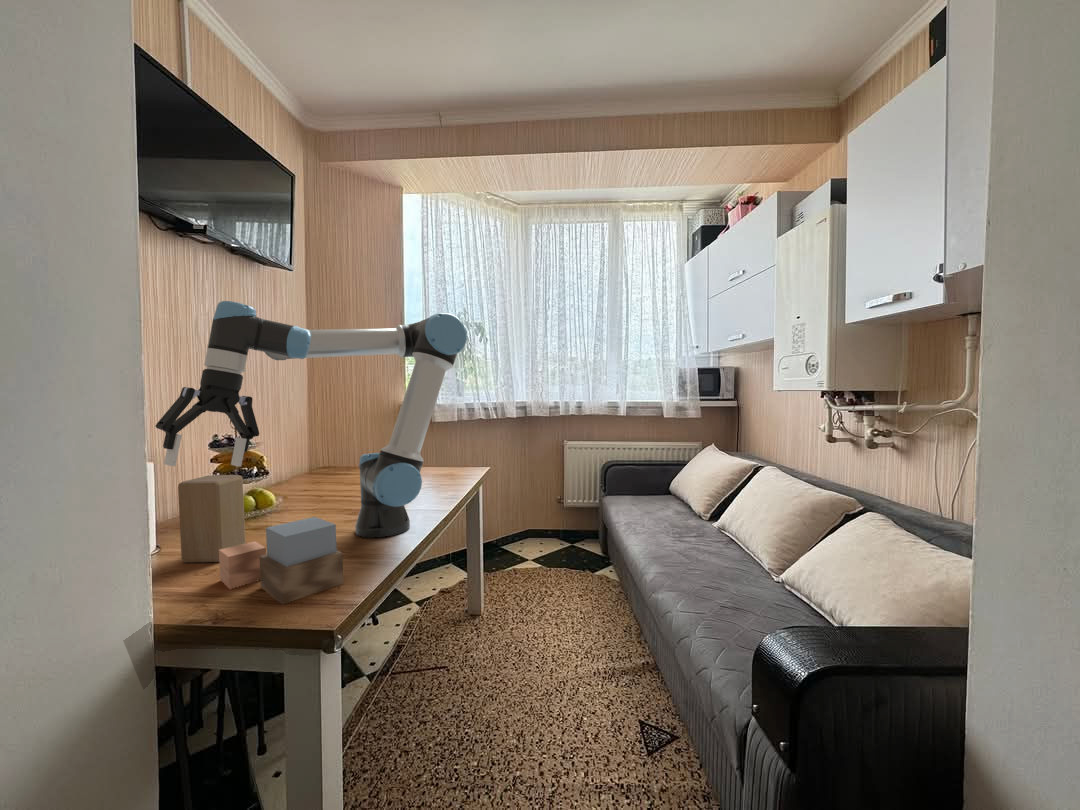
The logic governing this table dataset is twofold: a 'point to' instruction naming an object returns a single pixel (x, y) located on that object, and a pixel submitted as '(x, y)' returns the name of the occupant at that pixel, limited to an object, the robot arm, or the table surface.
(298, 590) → the tower base
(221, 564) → the cube
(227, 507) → the block
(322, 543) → the tower top
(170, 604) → the table surface
